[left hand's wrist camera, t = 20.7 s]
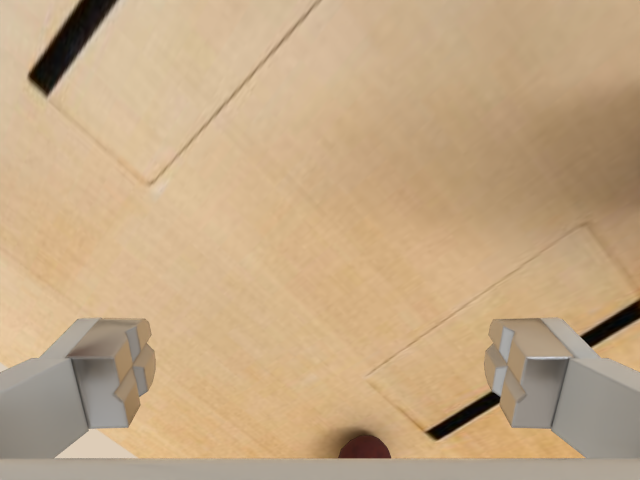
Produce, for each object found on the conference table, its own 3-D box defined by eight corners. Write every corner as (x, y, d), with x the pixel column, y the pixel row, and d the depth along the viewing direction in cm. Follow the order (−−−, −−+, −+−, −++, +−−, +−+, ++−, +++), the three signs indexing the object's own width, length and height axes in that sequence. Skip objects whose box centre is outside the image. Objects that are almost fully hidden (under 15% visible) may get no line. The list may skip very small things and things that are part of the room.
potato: (328, 457, 61) (329, 503, 54) (348, 417, 58) (351, 461, 52) (376, 470, 62) (383, 517, 55) (398, 431, 59) (407, 475, 53)
